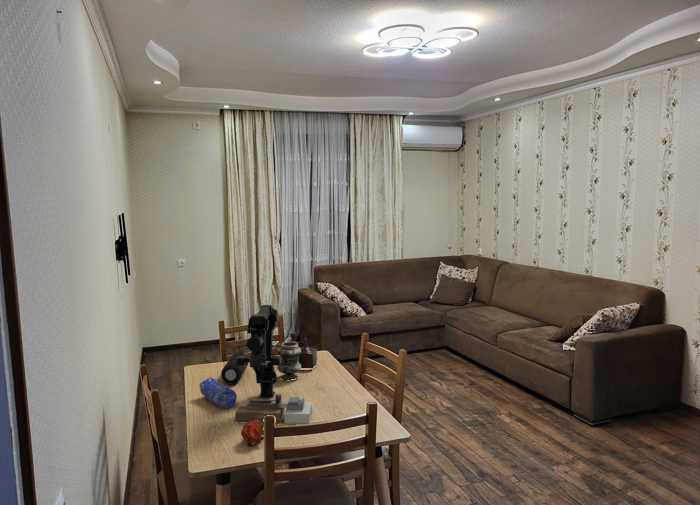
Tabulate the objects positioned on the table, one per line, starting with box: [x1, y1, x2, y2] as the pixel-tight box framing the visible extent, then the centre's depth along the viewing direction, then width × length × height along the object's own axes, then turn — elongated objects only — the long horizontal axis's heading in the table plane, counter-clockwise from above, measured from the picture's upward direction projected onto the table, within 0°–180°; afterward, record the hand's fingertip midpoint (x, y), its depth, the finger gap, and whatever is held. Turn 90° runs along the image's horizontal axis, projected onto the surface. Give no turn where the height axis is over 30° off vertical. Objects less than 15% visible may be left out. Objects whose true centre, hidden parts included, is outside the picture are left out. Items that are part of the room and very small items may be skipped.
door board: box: [234, 399, 285, 424], centre depth 212 cm, size 12×18×6 cm, turn 88°
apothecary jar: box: [277, 341, 301, 381], centre depth 259 cm, size 12×12×18 cm
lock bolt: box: [271, 393, 300, 409], centre depth 212 cm, size 12×2×5 cm, turn 88°
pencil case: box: [199, 377, 238, 410], centre depth 228 cm, size 22×9×10 cm, turn 39°
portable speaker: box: [220, 352, 250, 385], centre depth 261 cm, size 26×10×10 cm, turn 1°
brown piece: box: [289, 331, 318, 368], centre depth 277 cm, size 16×11×18 cm
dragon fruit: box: [240, 420, 265, 447], centre depth 189 cm, size 8×8×12 cm
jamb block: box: [283, 396, 313, 424], centre depth 212 cm, size 12×10×8 cm
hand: (259, 379), depth 219 cm, fingers closed
